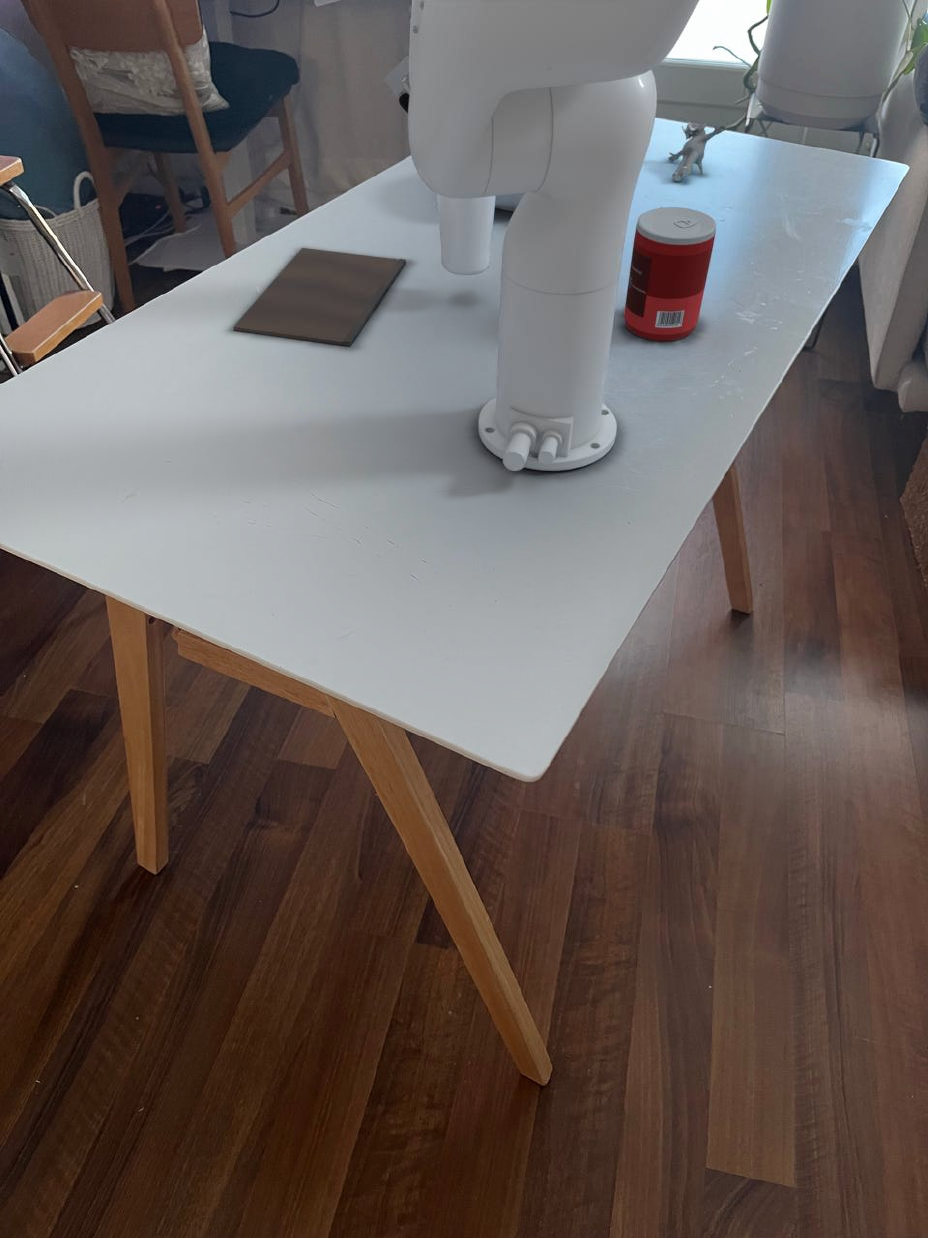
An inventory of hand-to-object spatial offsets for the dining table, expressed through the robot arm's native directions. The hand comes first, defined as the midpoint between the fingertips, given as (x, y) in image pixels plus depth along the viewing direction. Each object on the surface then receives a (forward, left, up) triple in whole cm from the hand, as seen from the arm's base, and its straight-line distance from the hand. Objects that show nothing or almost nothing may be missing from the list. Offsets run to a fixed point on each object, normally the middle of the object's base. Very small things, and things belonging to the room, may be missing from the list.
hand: (466, 168), depth 94 cm
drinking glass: (0, 0, -10) cm, 10 cm away
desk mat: (-3, +15, -14) cm, 21 cm away
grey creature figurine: (+45, -22, -14) cm, 51 cm away
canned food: (0, -22, -14) cm, 26 cm away
